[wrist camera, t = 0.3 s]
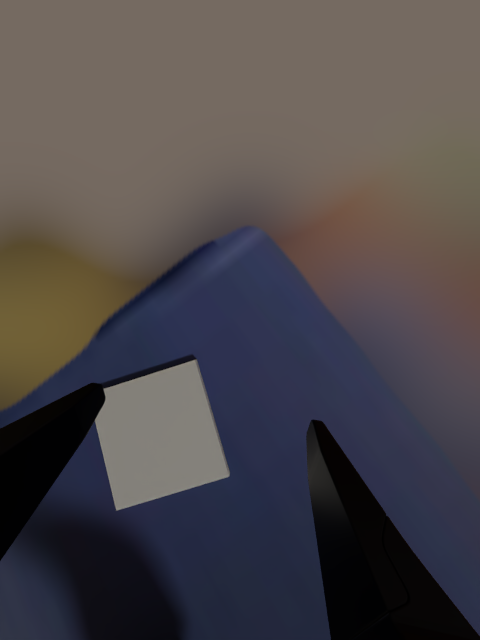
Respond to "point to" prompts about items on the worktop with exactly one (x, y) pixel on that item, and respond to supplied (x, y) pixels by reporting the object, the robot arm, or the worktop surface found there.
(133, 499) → the place mat
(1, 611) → the worktop surface
